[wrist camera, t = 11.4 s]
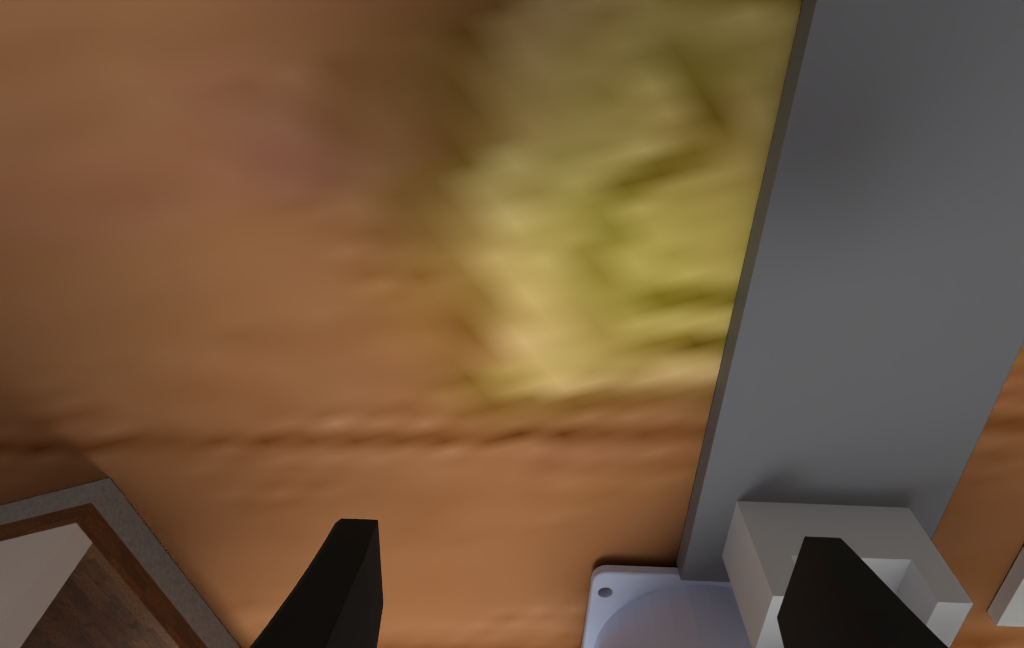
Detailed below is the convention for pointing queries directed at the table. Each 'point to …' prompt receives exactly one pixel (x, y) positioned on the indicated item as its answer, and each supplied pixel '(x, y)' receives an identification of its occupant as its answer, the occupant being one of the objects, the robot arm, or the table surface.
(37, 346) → the table surface
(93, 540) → the display case
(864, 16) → the rack
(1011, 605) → the mat
